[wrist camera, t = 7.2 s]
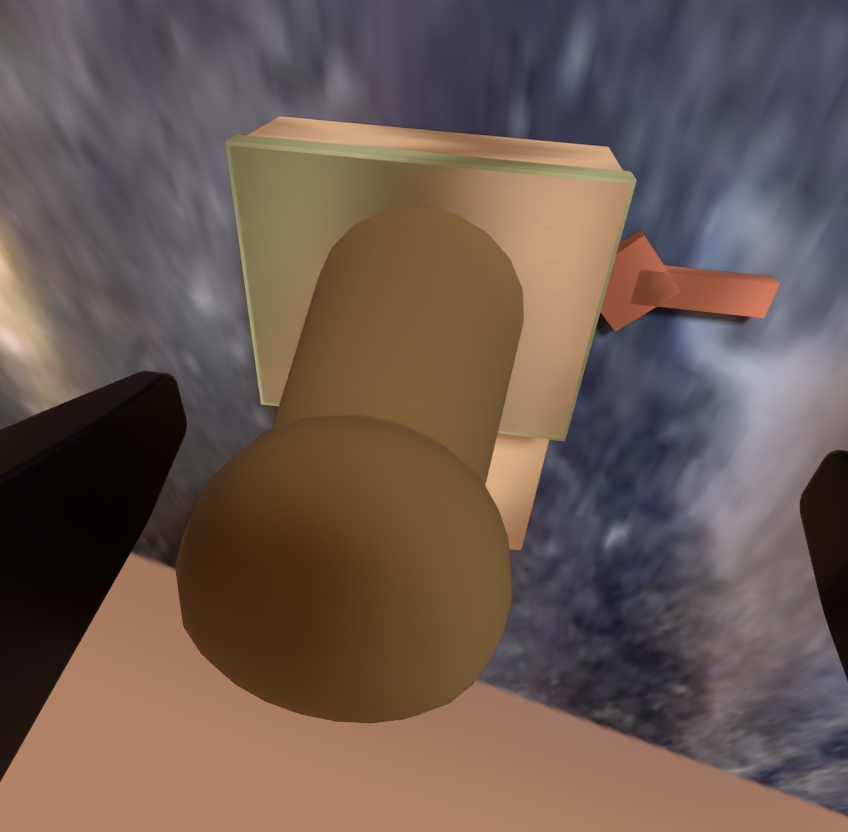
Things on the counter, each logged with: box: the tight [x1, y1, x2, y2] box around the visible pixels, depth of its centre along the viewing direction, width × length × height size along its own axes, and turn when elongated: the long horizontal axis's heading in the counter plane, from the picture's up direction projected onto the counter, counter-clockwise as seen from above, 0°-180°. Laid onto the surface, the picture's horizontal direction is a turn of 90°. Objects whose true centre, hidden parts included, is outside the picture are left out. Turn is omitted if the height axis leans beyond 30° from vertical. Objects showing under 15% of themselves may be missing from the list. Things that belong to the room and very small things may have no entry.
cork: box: [175, 207, 524, 723], centre depth 12 cm, size 6×6×11 cm
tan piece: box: [225, 116, 780, 550], centre depth 20 cm, size 16×16×4 cm
